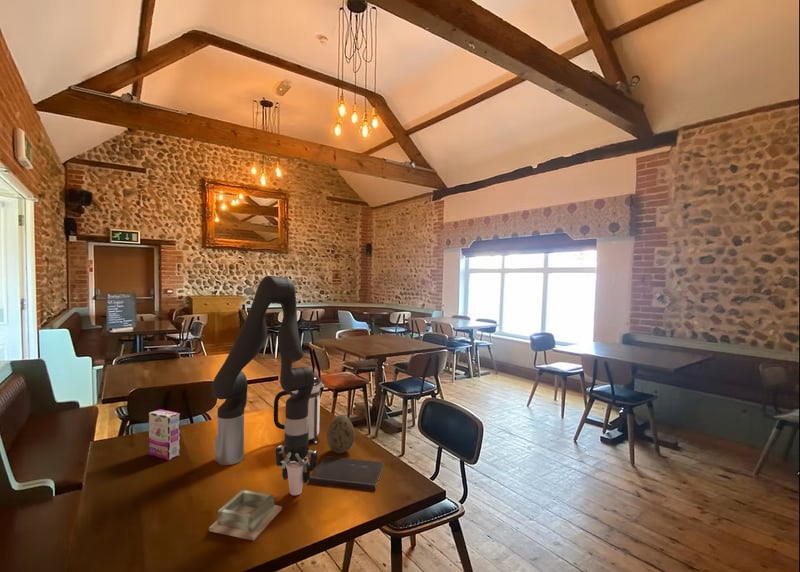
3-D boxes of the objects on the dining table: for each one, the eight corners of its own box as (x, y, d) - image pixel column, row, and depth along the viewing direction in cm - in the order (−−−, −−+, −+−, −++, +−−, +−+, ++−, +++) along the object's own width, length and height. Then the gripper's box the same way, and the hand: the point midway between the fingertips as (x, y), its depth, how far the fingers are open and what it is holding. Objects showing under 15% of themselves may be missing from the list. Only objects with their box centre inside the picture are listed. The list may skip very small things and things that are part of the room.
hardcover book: (324, 461, 149) (325, 456, 149) (384, 468, 145) (384, 462, 145) (308, 485, 133) (308, 478, 133) (375, 492, 130) (375, 486, 130)
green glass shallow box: (208, 531, 108) (208, 513, 108) (240, 501, 122) (240, 486, 122) (253, 540, 105) (254, 522, 105) (281, 509, 119) (281, 493, 119)
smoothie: (287, 499, 123) (288, 456, 122) (283, 489, 129) (284, 447, 128) (308, 495, 126) (309, 452, 125) (303, 484, 132) (304, 443, 131)
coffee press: (304, 427, 178) (305, 362, 177) (329, 437, 169) (331, 368, 167) (272, 441, 164) (272, 369, 163) (297, 452, 155) (298, 377, 153)
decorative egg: (346, 461, 149) (346, 422, 148) (321, 455, 153) (321, 417, 152) (358, 448, 159) (359, 412, 158) (335, 444, 163) (335, 408, 162)
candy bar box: (180, 455, 151) (180, 412, 150) (168, 461, 146) (168, 417, 145) (160, 449, 155) (160, 408, 154) (148, 454, 150) (147, 412, 149)
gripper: (270, 431, 124) (269, 482, 125) (312, 437, 121) (311, 490, 122) (282, 422, 132) (282, 471, 133) (322, 427, 128) (321, 477, 129)
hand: (295, 480), depth 127 cm, fingers closed on smoothie, 6 cm apart
